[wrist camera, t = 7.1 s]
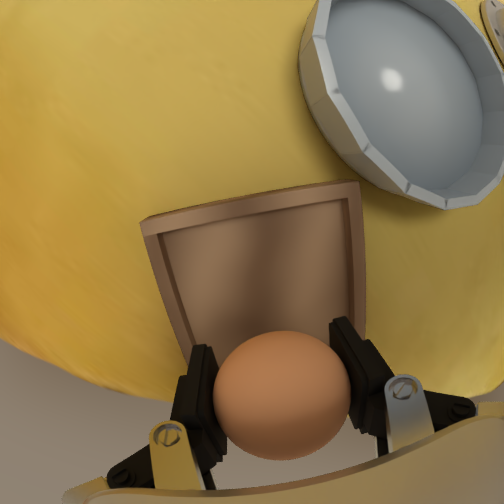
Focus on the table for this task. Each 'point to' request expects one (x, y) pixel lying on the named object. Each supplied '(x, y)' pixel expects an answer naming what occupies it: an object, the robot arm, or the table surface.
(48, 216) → the table surface
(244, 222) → the tray
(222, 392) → the ball
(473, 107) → the bowl
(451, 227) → the table surface
